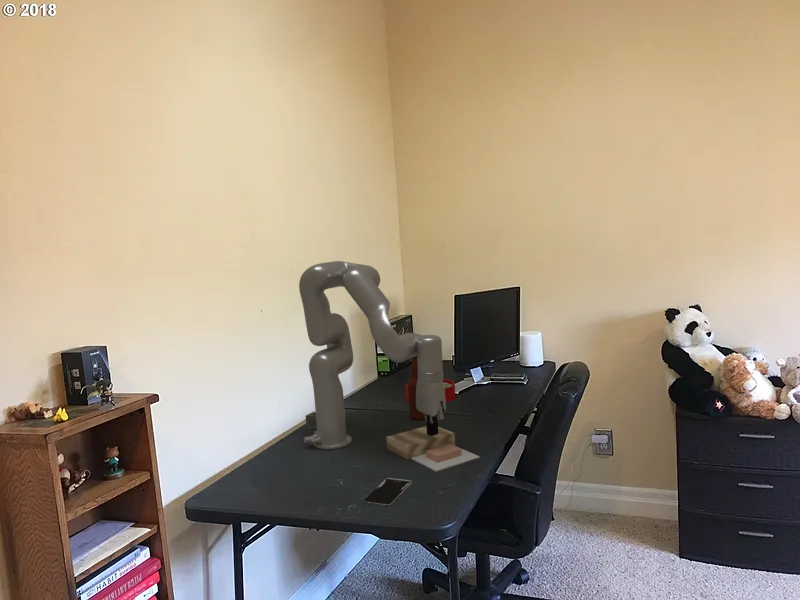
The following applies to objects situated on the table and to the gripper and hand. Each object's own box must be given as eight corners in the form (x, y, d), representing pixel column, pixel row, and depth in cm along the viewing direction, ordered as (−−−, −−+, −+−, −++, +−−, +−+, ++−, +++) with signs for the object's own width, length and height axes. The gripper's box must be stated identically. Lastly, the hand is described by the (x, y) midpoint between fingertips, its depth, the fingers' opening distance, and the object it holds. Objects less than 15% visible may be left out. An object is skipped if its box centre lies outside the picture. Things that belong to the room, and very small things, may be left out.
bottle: (426, 421, 225) (422, 352, 222) (407, 420, 228) (403, 352, 225) (432, 414, 232) (428, 348, 229) (413, 414, 235) (409, 348, 232)
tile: (425, 450, 189) (425, 457, 189) (437, 456, 184) (437, 462, 184) (449, 443, 194) (449, 450, 194) (461, 448, 189) (461, 455, 189)
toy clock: (400, 391, 247) (411, 378, 266) (401, 405, 248) (412, 392, 267) (450, 391, 242) (458, 378, 262) (451, 405, 243) (458, 392, 262)
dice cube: (306, 429, 225) (305, 415, 225) (314, 424, 230) (313, 411, 229) (318, 430, 223) (317, 416, 223) (325, 426, 228) (324, 412, 227)
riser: (407, 459, 189) (406, 446, 189) (387, 448, 200) (386, 436, 199) (455, 445, 199) (454, 433, 198) (433, 436, 209) (432, 424, 208)
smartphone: (362, 501, 161) (387, 477, 174) (363, 506, 161) (387, 482, 175) (389, 504, 158) (412, 480, 171) (390, 509, 158) (412, 485, 171)
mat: (436, 471, 178) (436, 470, 178) (411, 459, 189) (411, 457, 189) (479, 457, 187) (479, 456, 187) (453, 446, 198) (453, 445, 198)
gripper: (406, 373, 194) (409, 430, 196) (434, 383, 181) (436, 444, 184) (426, 369, 198) (428, 425, 200) (455, 378, 185) (457, 438, 188)
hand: (432, 434), depth 192 cm, fingers closed
